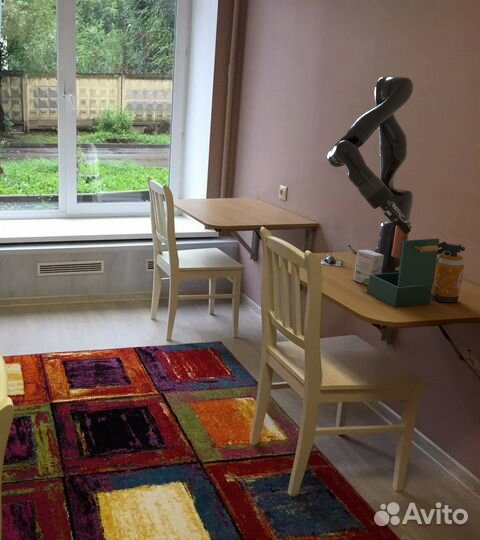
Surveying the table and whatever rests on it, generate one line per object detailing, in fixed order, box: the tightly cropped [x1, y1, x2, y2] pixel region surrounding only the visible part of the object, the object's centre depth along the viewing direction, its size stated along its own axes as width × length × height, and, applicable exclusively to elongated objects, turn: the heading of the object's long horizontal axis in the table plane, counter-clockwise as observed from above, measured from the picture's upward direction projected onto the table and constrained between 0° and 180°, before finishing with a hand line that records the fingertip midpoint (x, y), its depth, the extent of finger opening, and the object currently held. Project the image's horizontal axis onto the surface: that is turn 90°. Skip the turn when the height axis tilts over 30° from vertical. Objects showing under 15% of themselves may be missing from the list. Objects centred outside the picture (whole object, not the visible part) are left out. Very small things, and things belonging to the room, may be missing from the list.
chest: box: [366, 272, 432, 308], centre depth 209 cm, size 15×14×7 cm
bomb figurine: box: [320, 249, 342, 267], centre depth 249 cm, size 8×8×6 cm
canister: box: [430, 241, 466, 303], centre depth 206 cm, size 9×11×20 cm
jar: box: [392, 220, 412, 258], centre depth 201 cm, size 4×4×12 cm
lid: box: [398, 237, 440, 287], centre depth 197 cm, size 15×14×5 cm
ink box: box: [353, 249, 384, 286], centre depth 223 cm, size 8×5×12 cm, turn 25°
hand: (408, 230), depth 199 cm, fingers closed on jar, 4 cm apart
